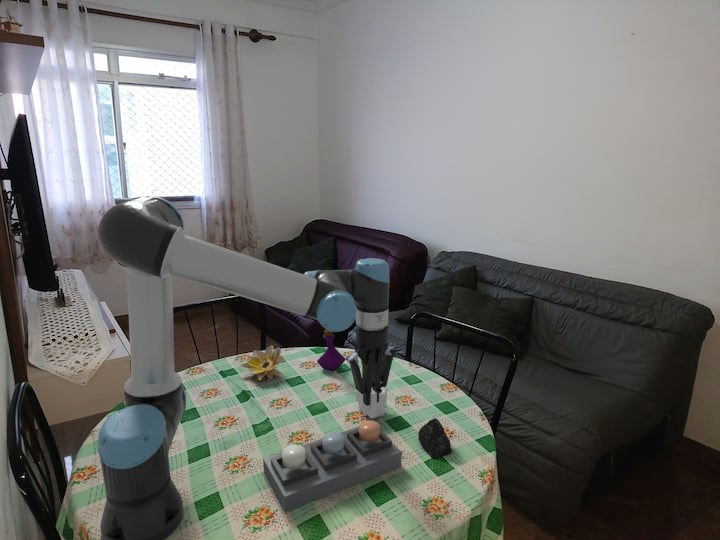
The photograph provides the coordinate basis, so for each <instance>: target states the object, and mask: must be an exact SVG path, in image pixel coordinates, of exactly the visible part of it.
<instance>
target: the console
mask: <svg viewBox="0 0 720 540" xmlns="http://www.w3.org/2000/svg"><path fill="white" fill-rule="evenodd" d="M340 433H341V434H342V435H343V436H344V450H343V452H342V453H340V454H337V455H329V454H326V453H325V452H324V451H323V449H322V438H320V439H318V440H314V441H311V442H308V443H305V444H302V445H301V446H302V447H304V448H305V455H306V462H305V464H304V465H303V466H302V467H300V468H298V469H288V468H286V467H284V466H283V463H282V451H280V452H278V453H275V454H272V455H269V456H266V457H264V458H262V461H263V462H262V464H263V474H264V476H265V478H266V479H267V482H268V483H269V485H270V487H271V489H272V491H273V493H274V494H275V496H276V499H277V500H278V502H279V504H280V506H281V508H282V509H283V512H284V514H285V513H288V512H291V511H293V510H297V509H299V508H300V507H304V506H306V505H309V504H311V503H314V502H316V501H317V500H320V499H324V498H325V497H327V496H328V497H329V496H330V495H333V494H336V493H337V492H340V491H344V490H345V489H348V488H351V487H353V486H355V485H357V484H361V483H363V482H365V481H368V480H370V479H372V478H375V477H377V476H380V475H383V474H385V473H388V472H390V471H392V470H395V469H397V468H400V467H402V455H403V454H402V451H401V450H400V449H399V448H398V447H397V446H396V445H395V444H394V443H393V440H392V439H390V438H389V437H388V435H386V434H385V433H384V432H383V431H382V430H381V429H380V437H379V439H378V440H376V441H374V442H366V441H363V440H361V439H360V437H359V426H357V427H354V428H351V429H350V428H349V429H347V430H344V431H341V432H340Z"/></svg>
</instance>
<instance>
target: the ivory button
mask: <svg viewBox="0 0 720 540" xmlns="http://www.w3.org/2000/svg"><path fill="white" fill-rule="evenodd" d="M281 452H282V463H283V466H284V467H286V468H288V469H298V468H300V467H302V466H303V465H304V464H305V462H306V455H305V448H304V447H302V445H300V444H291V445H288V446H285V447H284V448H283V449H282V451H281Z"/></svg>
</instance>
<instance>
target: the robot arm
mask: <svg viewBox="0 0 720 540" xmlns="http://www.w3.org/2000/svg"><path fill="white" fill-rule="evenodd" d="M184 227H185V222H184V218H183V216H182V214H181V212H180V210H179V209H178V207H177V206H175V205H174V204H173V203H172V202H170V201H169V200H167V199H166V198H162V197H159V196H151V195H147V196H143V195H142V196H137V197H135V198H133V199H132V200H129V201H123V202H120V203H118V204H117V203H116V204H115V205H113V206H112V207H111V208H109V209H108V210H107V211H106V212H105V213H104V215H102V217H101V219H100V222H99V224H98V228H97V229H98V230H97V235H98V241H99V244H100V246H101V247H102V249H103V251H104V252H105V253H106V255H107V256H109V257H110V258H111V259H112V260H113V261H115V262H117V266H119V267H120V268H121V269H122V270H123V271H125V272H126V288H127V290H126V291H127V305H128V306H127V309H128V310H127V312H128V313H127V314H128V330H129V331H128V332H129V350H130V351H129V352H130V355H129V356H130V373H131V374H130V375H131V376H130V377H129V378H128V379H127V380H126V381H125V383H124V386H123V390H124V392H123V393H124V408H122V409H119V410H118V412H117V413H115V412H113V414H111V415H110V416H109V417H107V419H106V420H105V421H104V422H103V423H102V425H101V427H100V429H99V431H98V436H97V439H98V440H97V452H98V456H99V459H100V466H101V471H102V472H101V473H102V477H103V479H102V480H103V483H104V490H105V491H104V492H105V496H106V501H105V504H104V507H103V508H104V509H103V512H102V516H101V520H100V526H99V527H100V528H99V529H100V536H101V539H102V540H165V539H166V538H168V537H169V536H170V535H171V534H172V533H173V532H174V531H175V530H176V529H177V527H178V526H179V525H180V523H181V521H182V519H183V516H184V515H183V514H184V504H183V498H182V495H181V493H180V492H179V490H178V489H177V487H176V485H175V484H174V482H173V480H172V479H171V478H172V477H171V468H170V460H169V458H170V457H169V453H170V448H171V445H172V443H173V440H174V438H175V434H176V432H177V431H178V430H177V429H178V427H179V424H180V422H181V419H182V418H183V417H184V415H185V411H186V407H187V394H186V390H185V388H184V386H183V385H182V383H183V381H182V380H183V379H182V376H181V375H180V374H179V373H177V372H176V371H175V344H174V343H175V341H174V338H175V337H174V302H173V301H174V300H173V294H174V292H173V291H174V290H173V276H175V277H178V278H180V279H185V280H188V281H191V282H194V283H196V284H200V285H204V286H206V287H210V288H214V289H216V290H220V291H223V292H226V293H228V294H229V293H230V294H231V295H236V296H238V297H239V296H240V297H242V298H246V299H249V300H251V301H255V302H259V303H260V304H261V303H262V304H265V305H268V306H272V307H274V308H277V309H279V310H284V311H287V312H290V313H293V314H298V315H300V316H303V317H307V318H309V319H313V320H316V321H318V323H319V324H320V325H321V326H322V327H323V328H324V329H325V330H329V331H332V332H333V333H334V332H335V333H337V332H339V333H340V332H342V331H343V332H344V331H345V330H347V329H349V328H350V327H351V326H352V325H353V324H354V323H355V324H356V326H355V340H356V341H355V342H356V347H355V349H354V353H352V354H351V355H347V356H346V357H345V359H346V360H345V361H347V363H348V365H349V366H350V371H351V375H352V378H353V379H352V380H353V383H354V387H355V389H356V390H358V391H359V392H360V393H361V394H363V403H364V404H365V405H366V414H367V415H368V416H367V417H369V418H370V419H374V417H375V418H377V417H376V412H377V402H379V393H381V392H382V390H381V388H382V387H386V386H387V385H388V381H389V376H390V373H391V372H390V371H391V368H392V363H393V359H394V357H395V355H396V353H397V349H396V348H395V347H393V346H391V345H389V343H388V340H389V326H388V325H389V301H390V300H389V299H390V297H389V296H390V295H389V294H390V282H391V281H390V265H389V263H388V262H387V261H386V260H384V259H382V258H375V257H367V258H360V259H358V260H357V261H356V264H355V266H354V268H353V269H333V270H332V269H329V270H327V269H326V270H320V269H317V270H312V271H311V270H309V271H306V272H304V273H300V272H298V271H294V270H291V269H288V268H284V267H282V266H279V265H276V264H273V263H270V262H268V261H264V260H261V259H258V258H255V257H253V256H249V255H246V254H244V253H241V252H238V251H235V250H231V249H228V248H226V247H223V246H220V245H217V244H214V243H211V242H207V241H205V240H202V239H199V238H196V237H193V236H189V235H188V234H186V233H185V231H184ZM359 359H360V361H359ZM359 363H360V364H361V366H362V368H360V365H359ZM387 387H388V386H387Z"/></svg>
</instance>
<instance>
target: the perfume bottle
mask: <svg viewBox="0 0 720 540" xmlns="http://www.w3.org/2000/svg"><path fill="white" fill-rule="evenodd" d="M323 333H324V334H323V335H322V337H323V339H324V340H326V343H327V347H326V350H325V351H324V352H323V354H322V355H321V356H320V357H319V358H318V359H317V360H316V363H317V364H318V365H319V366H320V367H321V368H322V370H324V371H328V372H331V373H334V372H336V371H337V370H338V369H340V368H341V367H342V365H343V364H344V363H345V361H347V360H346V357H344V355H342V354H341V352H339V350H338V349H337V348H336V347H335V345H334V342H333V340H334V339H335V334H333V333H334V332H332V331H329V330H327V329H325V330H324V332H323Z"/></svg>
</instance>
